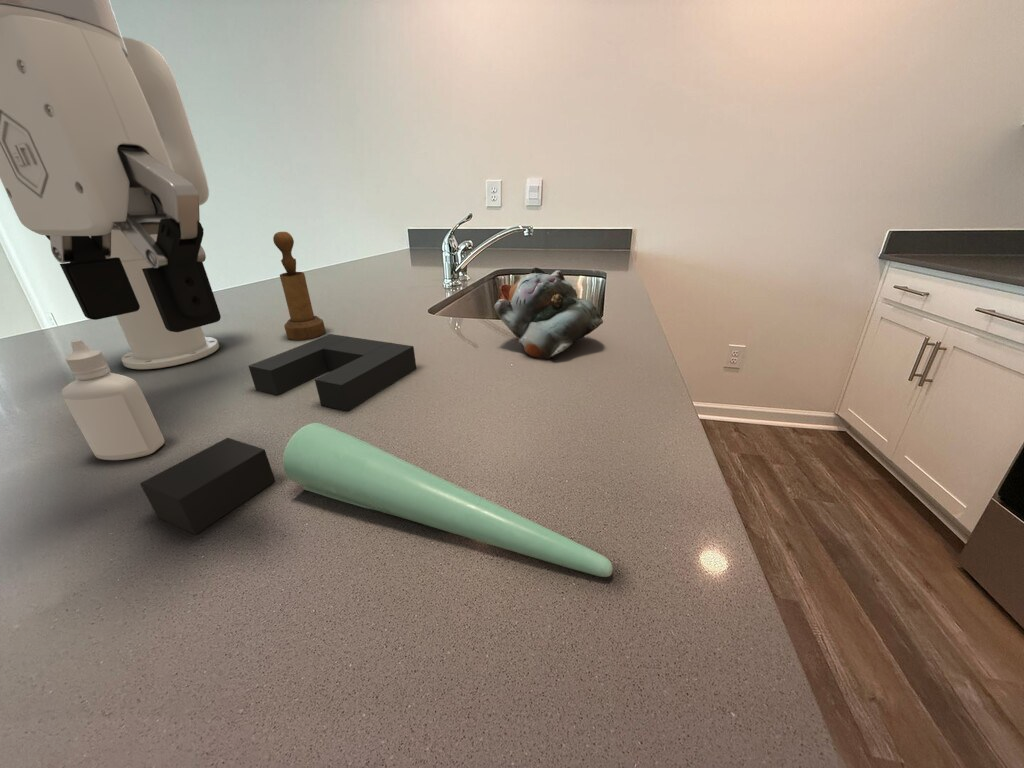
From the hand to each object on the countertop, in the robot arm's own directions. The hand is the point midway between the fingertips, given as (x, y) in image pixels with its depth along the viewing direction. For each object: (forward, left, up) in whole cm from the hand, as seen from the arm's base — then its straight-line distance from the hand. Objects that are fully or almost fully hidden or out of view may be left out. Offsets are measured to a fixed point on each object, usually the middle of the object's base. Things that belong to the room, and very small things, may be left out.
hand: (153, 320), depth 29 cm
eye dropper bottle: (-15, +1, -16) cm, 22 cm away
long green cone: (+20, +5, -16) cm, 26 cm away
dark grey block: (0, -1, -16) cm, 16 cm away
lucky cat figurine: (+14, +45, -16) cm, 50 cm away
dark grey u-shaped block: (-9, +22, -16) cm, 29 cm away
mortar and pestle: (-30, +35, -16) cm, 49 cm away
